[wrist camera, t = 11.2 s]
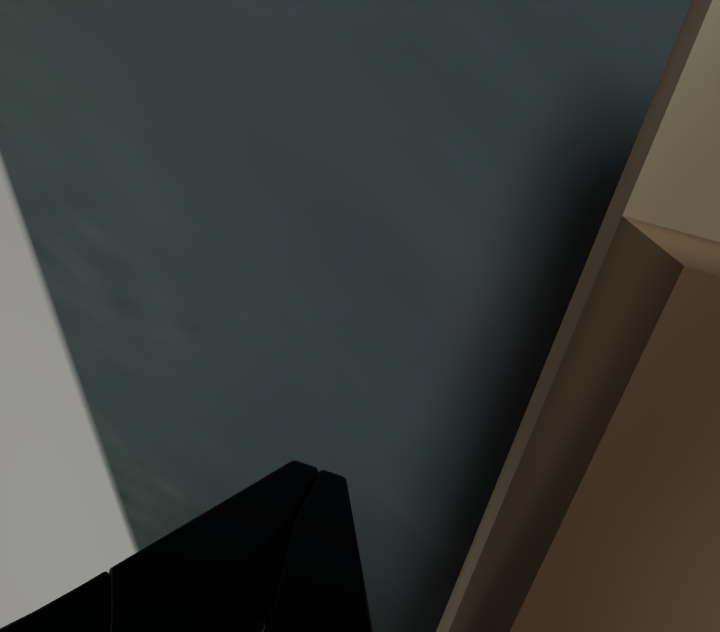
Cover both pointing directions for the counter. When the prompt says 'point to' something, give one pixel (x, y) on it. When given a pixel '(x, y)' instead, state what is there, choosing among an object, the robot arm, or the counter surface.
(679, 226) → the lid
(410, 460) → the counter surface
